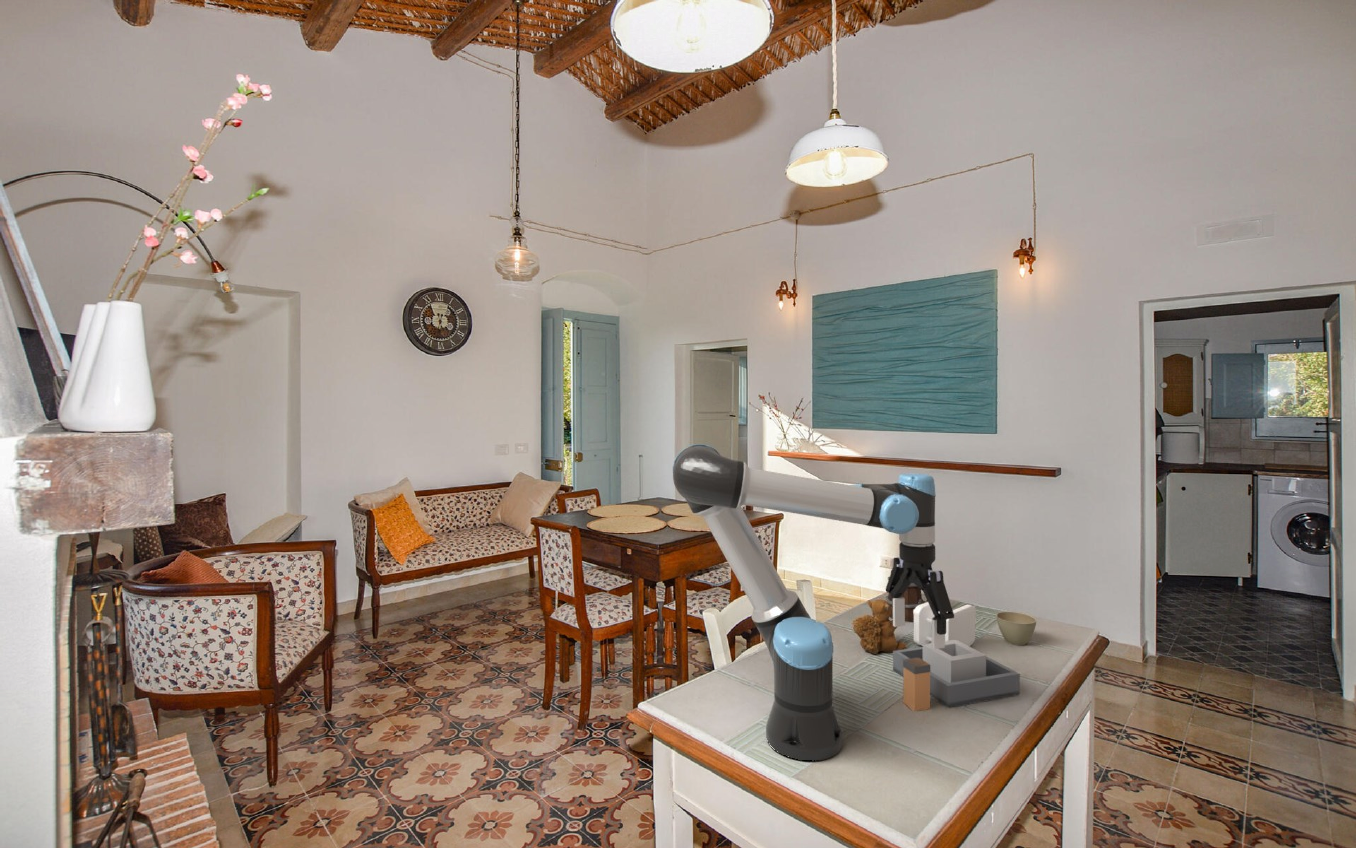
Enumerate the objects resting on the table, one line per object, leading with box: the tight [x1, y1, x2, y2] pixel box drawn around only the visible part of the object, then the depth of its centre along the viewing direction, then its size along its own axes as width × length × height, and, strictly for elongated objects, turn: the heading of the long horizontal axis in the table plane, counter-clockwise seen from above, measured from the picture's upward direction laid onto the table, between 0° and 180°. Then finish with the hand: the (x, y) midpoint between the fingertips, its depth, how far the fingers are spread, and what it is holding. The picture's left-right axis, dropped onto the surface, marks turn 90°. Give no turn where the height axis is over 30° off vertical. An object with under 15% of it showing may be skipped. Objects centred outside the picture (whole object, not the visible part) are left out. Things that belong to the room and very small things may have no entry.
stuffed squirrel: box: [851, 599, 907, 655], centre depth 169 cm, size 10×14×13 cm
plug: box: [902, 657, 931, 712], centre depth 138 cm, size 4×4×10 cm
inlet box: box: [892, 640, 1021, 709], centre depth 149 cm, size 20×20×8 cm
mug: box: [885, 567, 929, 623], centre depth 193 cm, size 16×12×15 cm
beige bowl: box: [995, 611, 1037, 646], centre depth 173 cm, size 10×10×7 cm
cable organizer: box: [913, 602, 976, 647], centre depth 171 cm, size 15×11×12 cm
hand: (917, 636), depth 137 cm, fingers open, 13 cm apart
